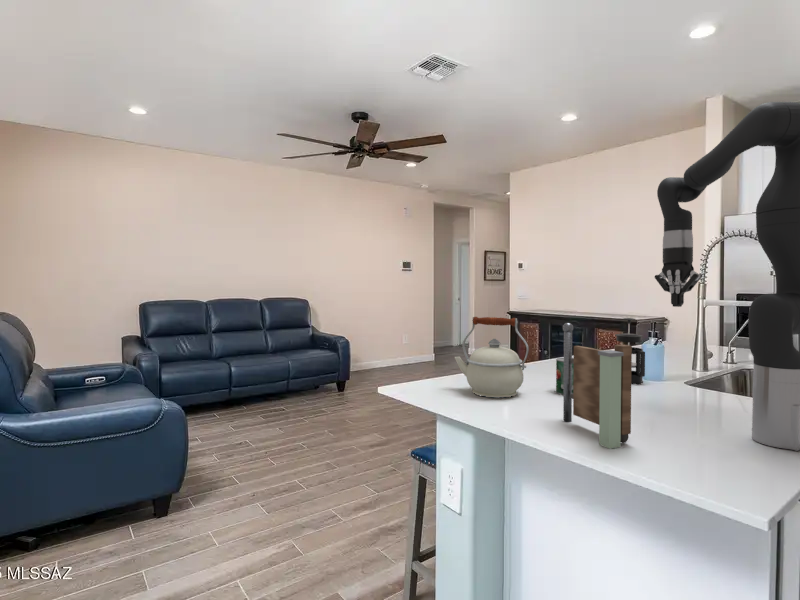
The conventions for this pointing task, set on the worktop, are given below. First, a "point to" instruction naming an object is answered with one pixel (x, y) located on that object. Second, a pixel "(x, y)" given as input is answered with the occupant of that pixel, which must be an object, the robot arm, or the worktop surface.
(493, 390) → the kettle
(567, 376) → the hinge post
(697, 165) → the robot arm
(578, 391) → the gate
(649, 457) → the worktop surface
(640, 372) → the french press
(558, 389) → the canned tomato
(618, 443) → the post
